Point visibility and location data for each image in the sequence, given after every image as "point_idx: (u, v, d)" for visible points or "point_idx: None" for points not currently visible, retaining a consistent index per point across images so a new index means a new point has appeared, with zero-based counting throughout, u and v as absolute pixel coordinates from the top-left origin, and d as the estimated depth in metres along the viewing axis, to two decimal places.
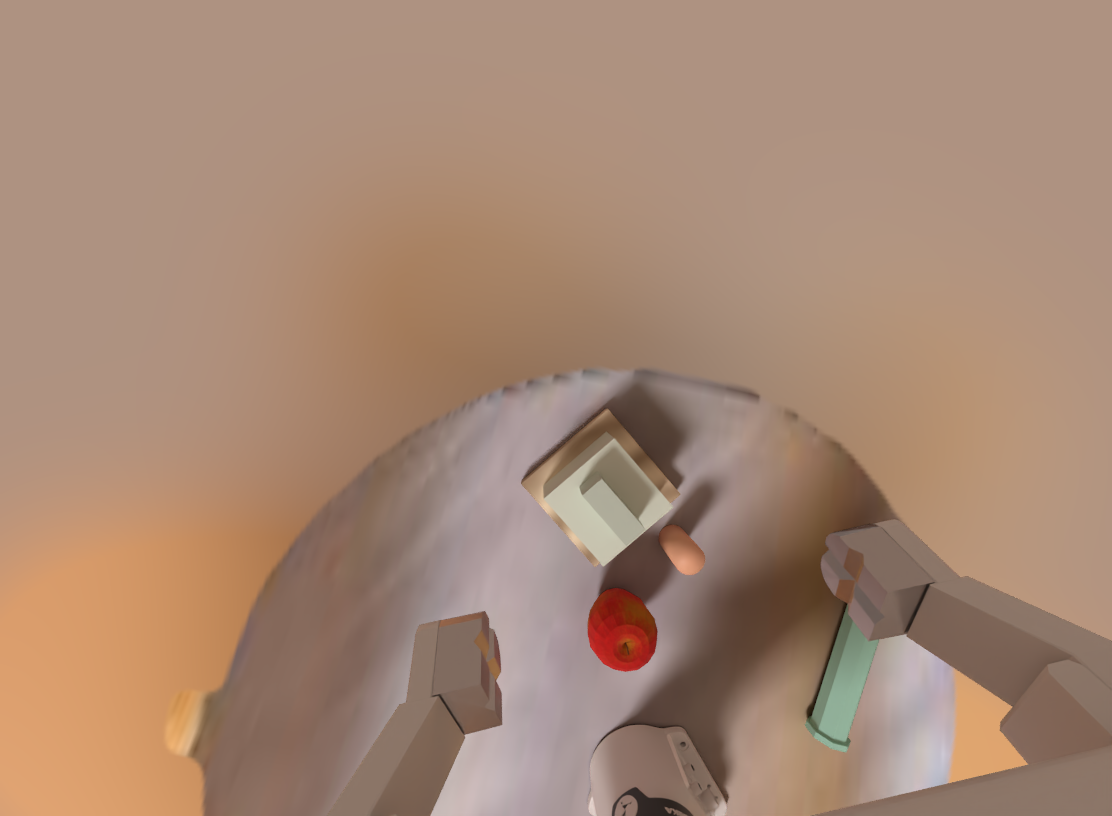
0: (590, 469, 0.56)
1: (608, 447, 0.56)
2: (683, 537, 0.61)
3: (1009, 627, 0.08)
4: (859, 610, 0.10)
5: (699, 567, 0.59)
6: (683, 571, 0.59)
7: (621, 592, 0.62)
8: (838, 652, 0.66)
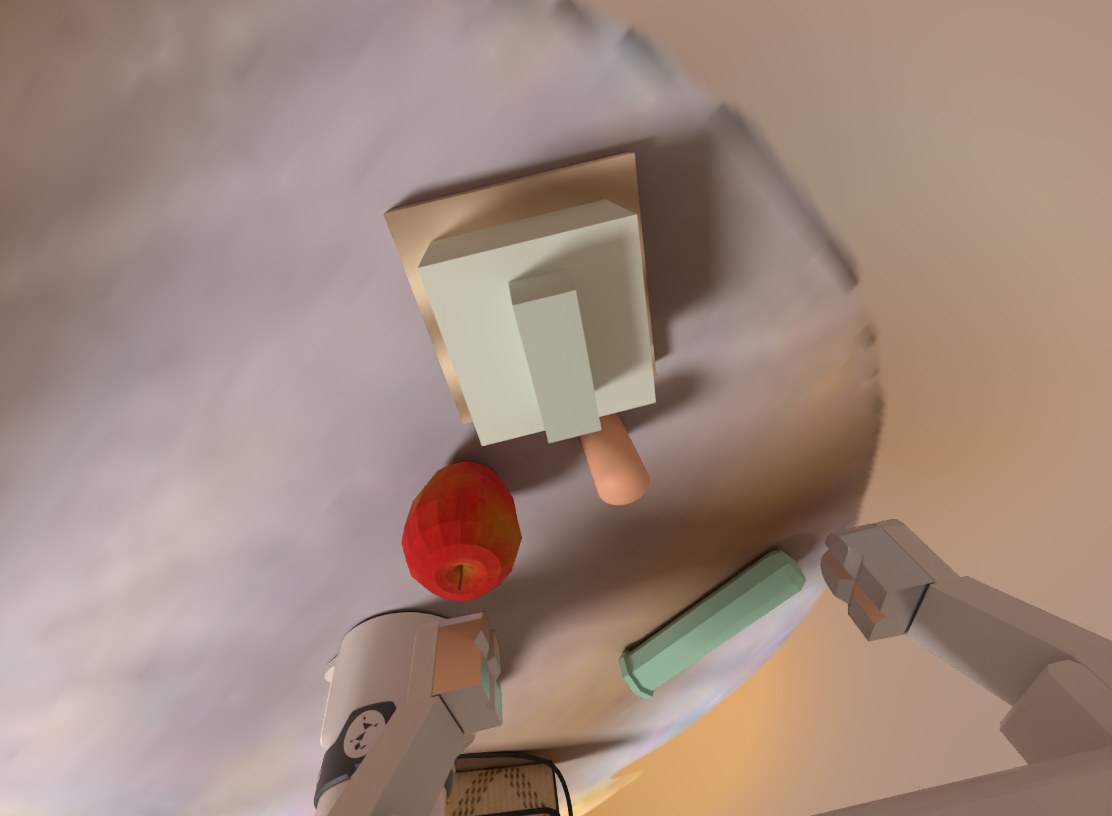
0: (550, 256, 0.24)
1: (613, 228, 0.24)
2: (628, 444, 0.36)
3: (1009, 627, 0.08)
4: (859, 610, 0.10)
5: (630, 499, 0.35)
6: (603, 496, 0.34)
7: (489, 481, 0.36)
8: (701, 615, 0.54)
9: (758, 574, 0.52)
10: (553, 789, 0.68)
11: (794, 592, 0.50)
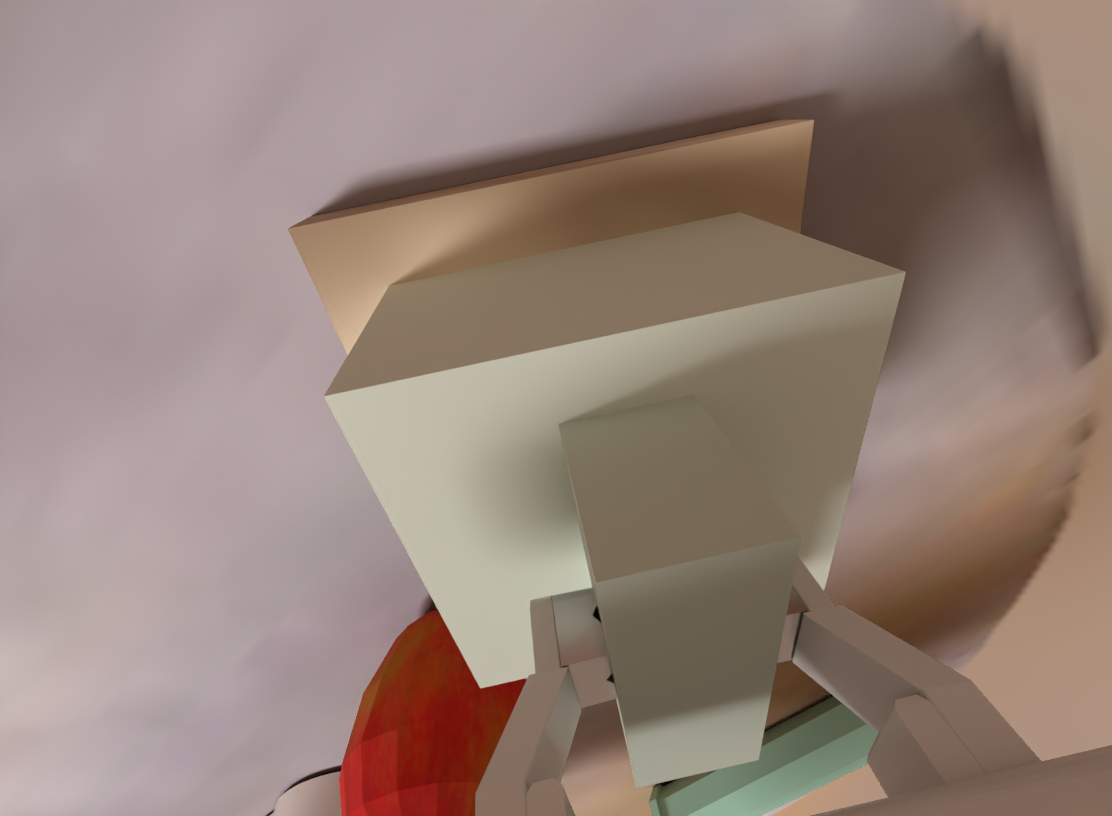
0: (670, 368, 0.09)
1: (838, 304, 0.09)
2: None
3: (870, 659, 0.08)
4: None
5: None
6: None
7: None
8: (764, 763, 0.40)
9: (847, 718, 0.38)
10: None
11: None
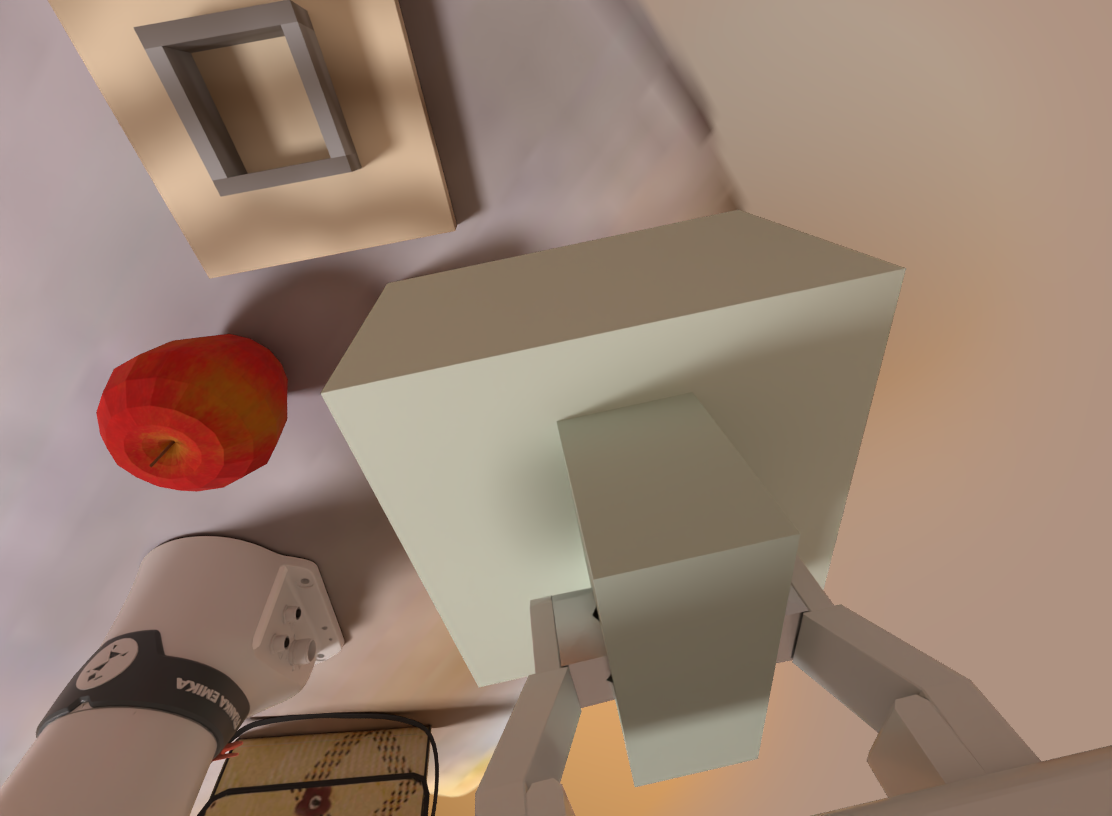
0: (669, 365, 0.09)
1: (837, 301, 0.09)
2: None
3: (870, 659, 0.08)
4: None
5: None
6: None
7: (235, 349, 0.29)
8: None
9: None
10: (425, 754, 0.62)
11: None
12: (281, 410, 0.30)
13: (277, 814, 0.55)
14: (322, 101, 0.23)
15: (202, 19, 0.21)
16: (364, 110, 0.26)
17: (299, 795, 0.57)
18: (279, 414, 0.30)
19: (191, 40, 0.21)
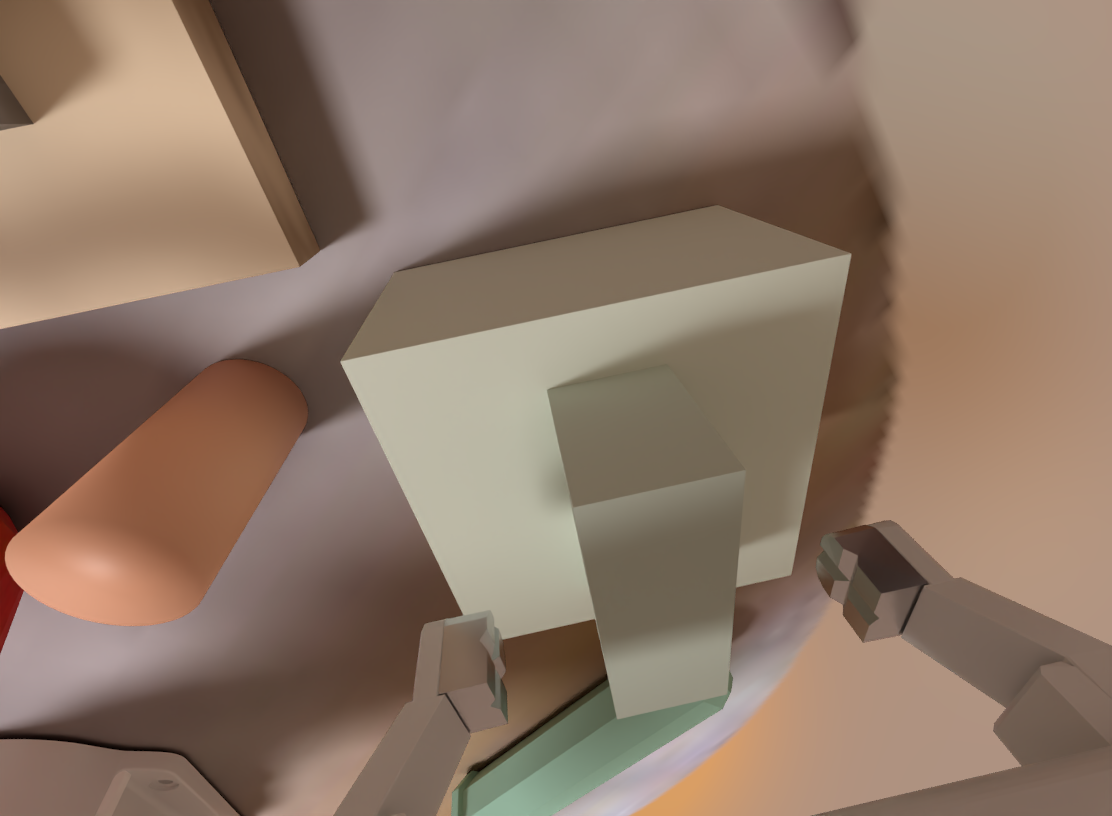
0: (645, 339, 0.11)
1: (792, 282, 0.10)
2: (190, 450, 0.13)
3: (1003, 629, 0.08)
4: (854, 611, 0.10)
5: (167, 611, 0.12)
6: (65, 606, 0.11)
7: None
8: (562, 739, 0.31)
9: None
10: None
11: (710, 713, 0.28)
12: None
13: None
14: None
15: None
16: None
17: None
18: None
19: None
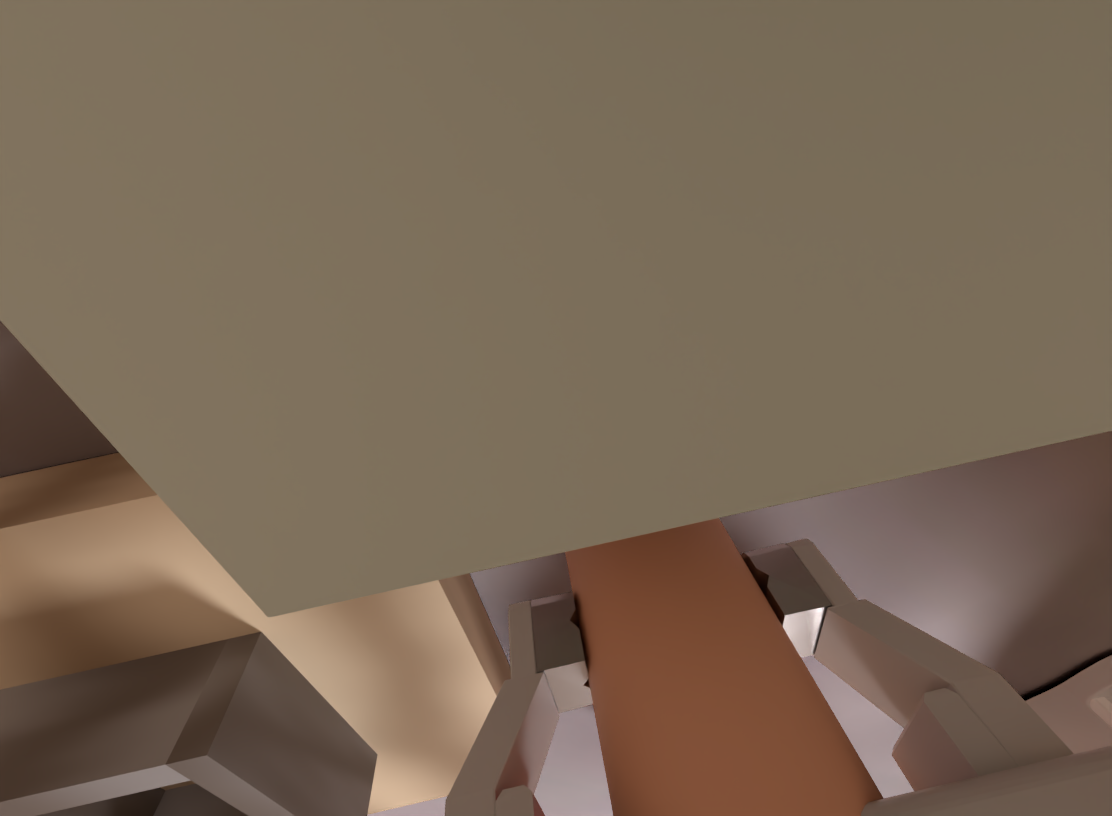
0: None
1: None
2: (617, 683, 0.08)
3: (896, 653, 0.08)
4: None
5: None
6: None
7: None
8: None
9: None
10: None
11: None
12: None
13: None
14: (44, 796, 0.09)
15: None
16: (111, 628, 0.10)
17: None
18: None
19: None
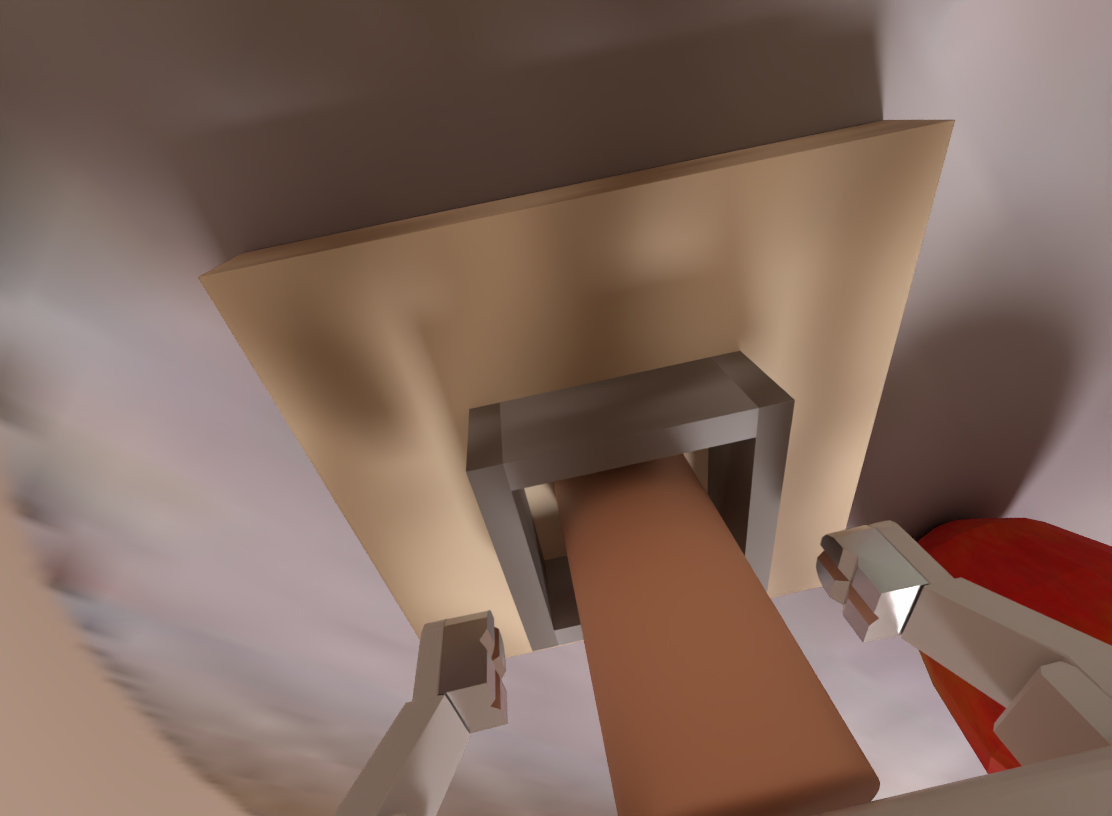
0: None
1: None
2: (608, 629, 0.09)
3: (1003, 629, 0.08)
4: (854, 611, 0.10)
5: (856, 791, 0.07)
6: None
7: None
8: None
9: None
10: None
11: None
12: None
13: None
14: (646, 438, 0.10)
15: (515, 588, 0.12)
16: (635, 330, 0.11)
17: None
18: None
19: (544, 601, 0.12)
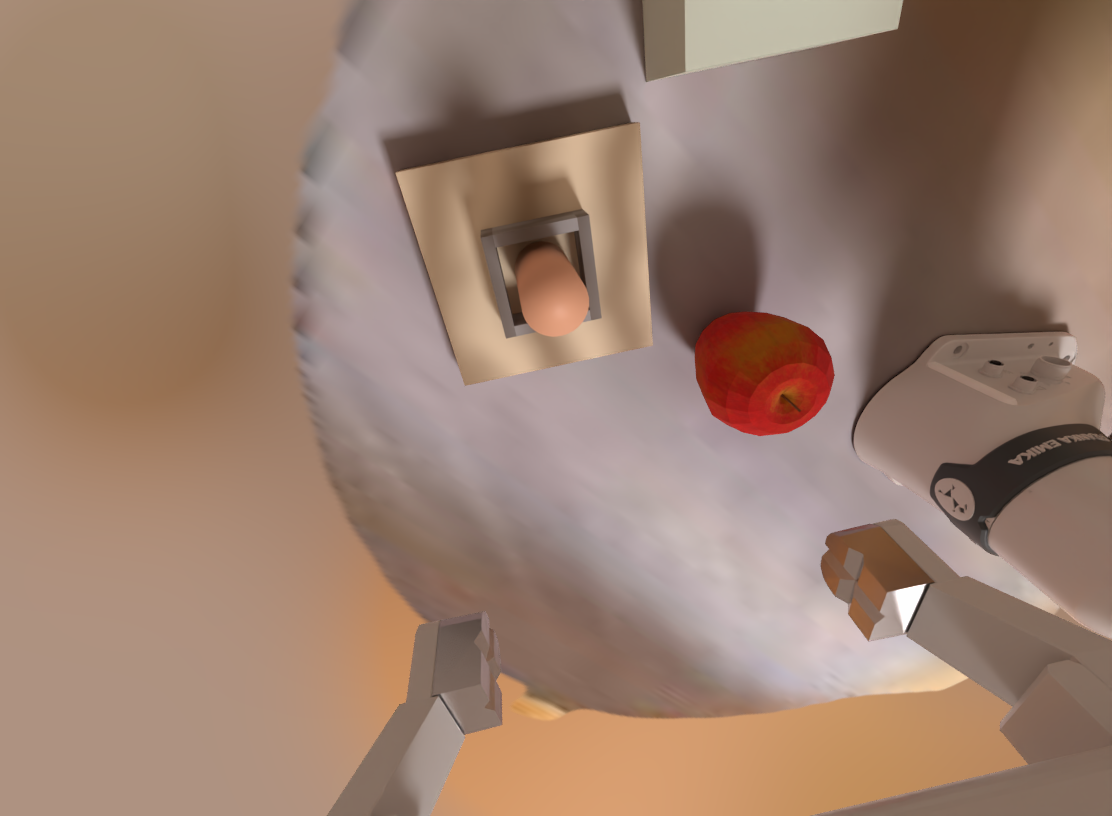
0: None
1: None
2: (522, 275, 0.28)
3: (1009, 627, 0.08)
4: (859, 610, 0.10)
5: (581, 292, 0.26)
6: (570, 327, 0.27)
7: (713, 339, 0.35)
8: None
9: None
10: None
11: None
12: (776, 317, 0.33)
13: None
14: (540, 228, 0.29)
15: (497, 297, 0.31)
16: (540, 198, 0.31)
17: None
18: (780, 319, 0.33)
19: (509, 308, 0.32)
